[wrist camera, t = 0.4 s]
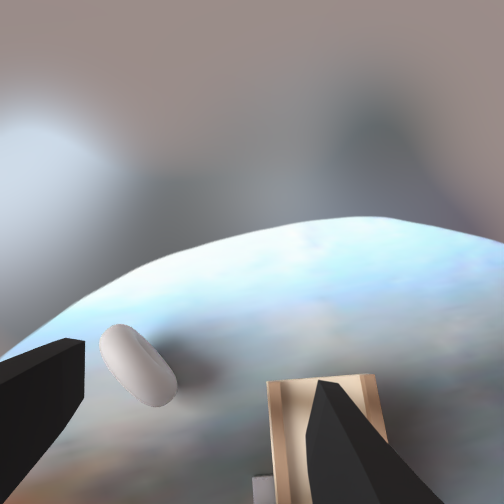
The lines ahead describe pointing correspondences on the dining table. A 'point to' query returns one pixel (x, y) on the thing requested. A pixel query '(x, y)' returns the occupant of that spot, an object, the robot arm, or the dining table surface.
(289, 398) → the beam
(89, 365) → the dining table surface
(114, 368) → the donut
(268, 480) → the pivot stand
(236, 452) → the dining table surface
